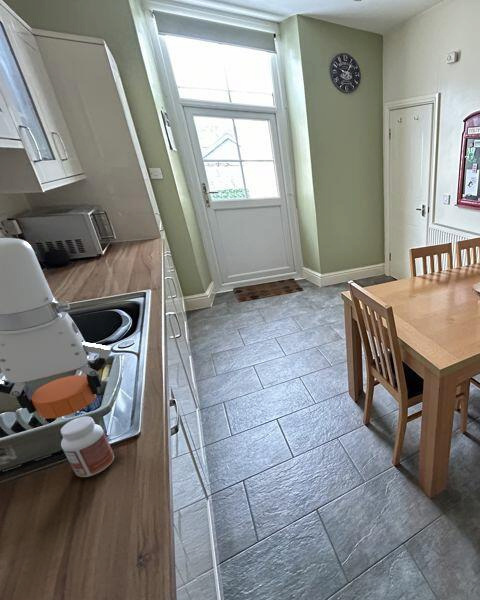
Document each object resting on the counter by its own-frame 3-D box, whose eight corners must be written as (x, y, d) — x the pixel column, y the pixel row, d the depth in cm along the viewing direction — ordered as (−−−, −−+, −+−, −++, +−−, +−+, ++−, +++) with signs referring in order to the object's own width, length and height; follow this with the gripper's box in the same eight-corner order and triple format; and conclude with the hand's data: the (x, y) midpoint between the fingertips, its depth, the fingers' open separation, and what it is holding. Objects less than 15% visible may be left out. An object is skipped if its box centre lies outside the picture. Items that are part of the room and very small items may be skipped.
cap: (26, 419, 57) (17, 404, 56) (62, 390, 64) (55, 375, 63) (75, 417, 58) (68, 401, 57) (106, 388, 65) (100, 374, 64)
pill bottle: (118, 449, 72) (102, 409, 67) (110, 471, 67) (92, 431, 62) (81, 458, 69) (62, 418, 65) (70, 483, 64) (48, 441, 60)
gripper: (97, 296, 61) (125, 372, 69) (-49, 319, 51) (2, 406, 59) (95, 310, 56) (126, 392, 63) (-68, 340, 46) (-10, 433, 53)
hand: (66, 398), depth 61 cm, fingers closed on cap, 8 cm apart
